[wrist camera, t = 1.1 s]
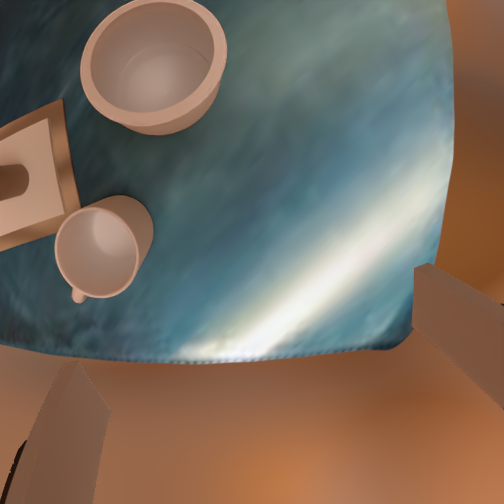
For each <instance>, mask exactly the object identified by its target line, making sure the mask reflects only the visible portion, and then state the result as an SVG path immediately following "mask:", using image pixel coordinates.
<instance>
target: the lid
mask: <svg viewBox="0 0 504 504" xmlns="http://www.w3.org/2000/svg"><path fill="white" fill-rule="evenodd" d="M65 213H67V210H66V206H65V202H64V197H63V193H62V188H61V184H60V179H59V173H58V168H57V163H56V157H55V151H54V144H53V137H52V129H51V121H50V118H46V119H44V120H42V121H39V122H37V123H35V124H33V125H31V126H29V127H27V128H25V129H23V130H21V131H19V132H17V133H15V134H13V135H11V136H9V137H7V138H5V139H3V140H1V141H0V236H3V235H5V234H8V233H10V232H13V231H16V230H19V229H21V228H24V227H27V226H30V225H32V224H35V223H38V222H41V221H44V220H47V219H50V218H53V217H56V216H59V215H62V214H65Z"/></svg>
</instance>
